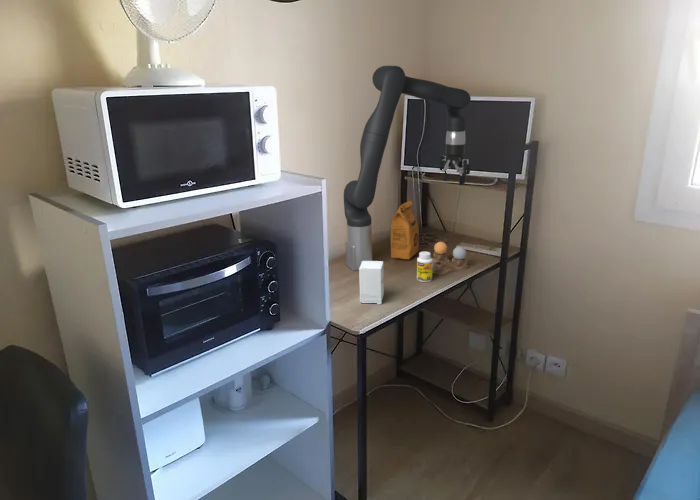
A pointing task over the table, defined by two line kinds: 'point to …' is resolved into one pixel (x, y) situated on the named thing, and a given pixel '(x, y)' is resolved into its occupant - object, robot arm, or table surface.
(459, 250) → the ball grey
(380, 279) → the supplement box
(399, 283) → the table surface
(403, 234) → the coffee package
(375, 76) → the robot arm
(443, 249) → the ball orange
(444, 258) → the stand single
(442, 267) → the rack
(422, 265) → the supplement bottle
